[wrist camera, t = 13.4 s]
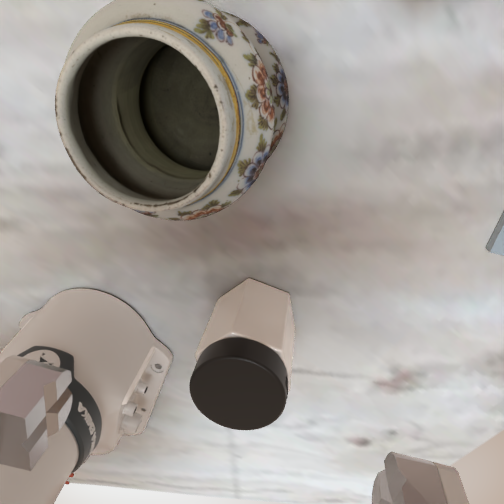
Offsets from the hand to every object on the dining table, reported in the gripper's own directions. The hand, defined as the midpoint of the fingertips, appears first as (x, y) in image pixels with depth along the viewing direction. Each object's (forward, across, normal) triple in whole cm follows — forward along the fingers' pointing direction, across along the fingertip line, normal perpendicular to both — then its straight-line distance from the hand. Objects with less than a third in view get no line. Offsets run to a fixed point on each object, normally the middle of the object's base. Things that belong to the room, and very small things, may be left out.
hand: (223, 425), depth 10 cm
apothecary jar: (+29, -7, +4) cm, 30 cm away
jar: (+29, 0, -17) cm, 34 cm away
